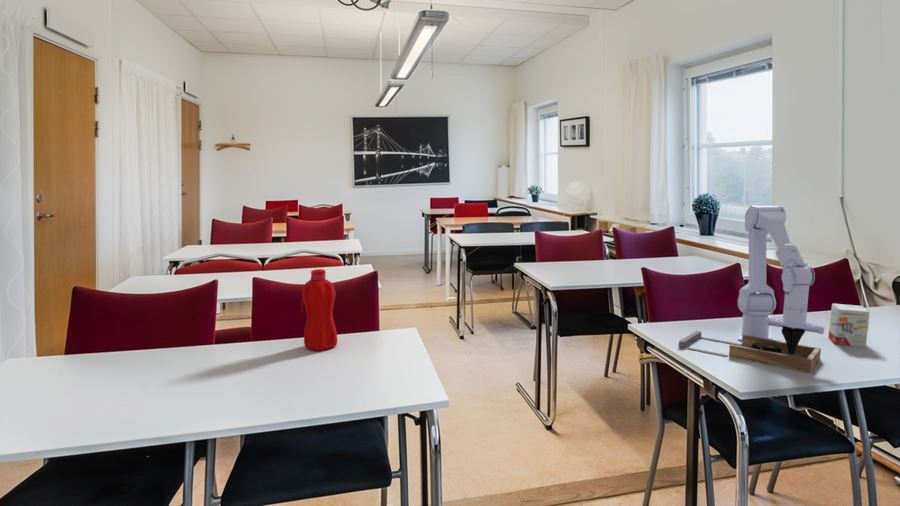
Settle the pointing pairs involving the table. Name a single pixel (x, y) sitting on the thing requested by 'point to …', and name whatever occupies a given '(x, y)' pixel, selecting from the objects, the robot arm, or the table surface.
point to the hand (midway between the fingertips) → (791, 353)
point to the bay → (697, 335)
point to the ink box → (848, 325)
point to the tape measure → (766, 347)
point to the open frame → (777, 354)
